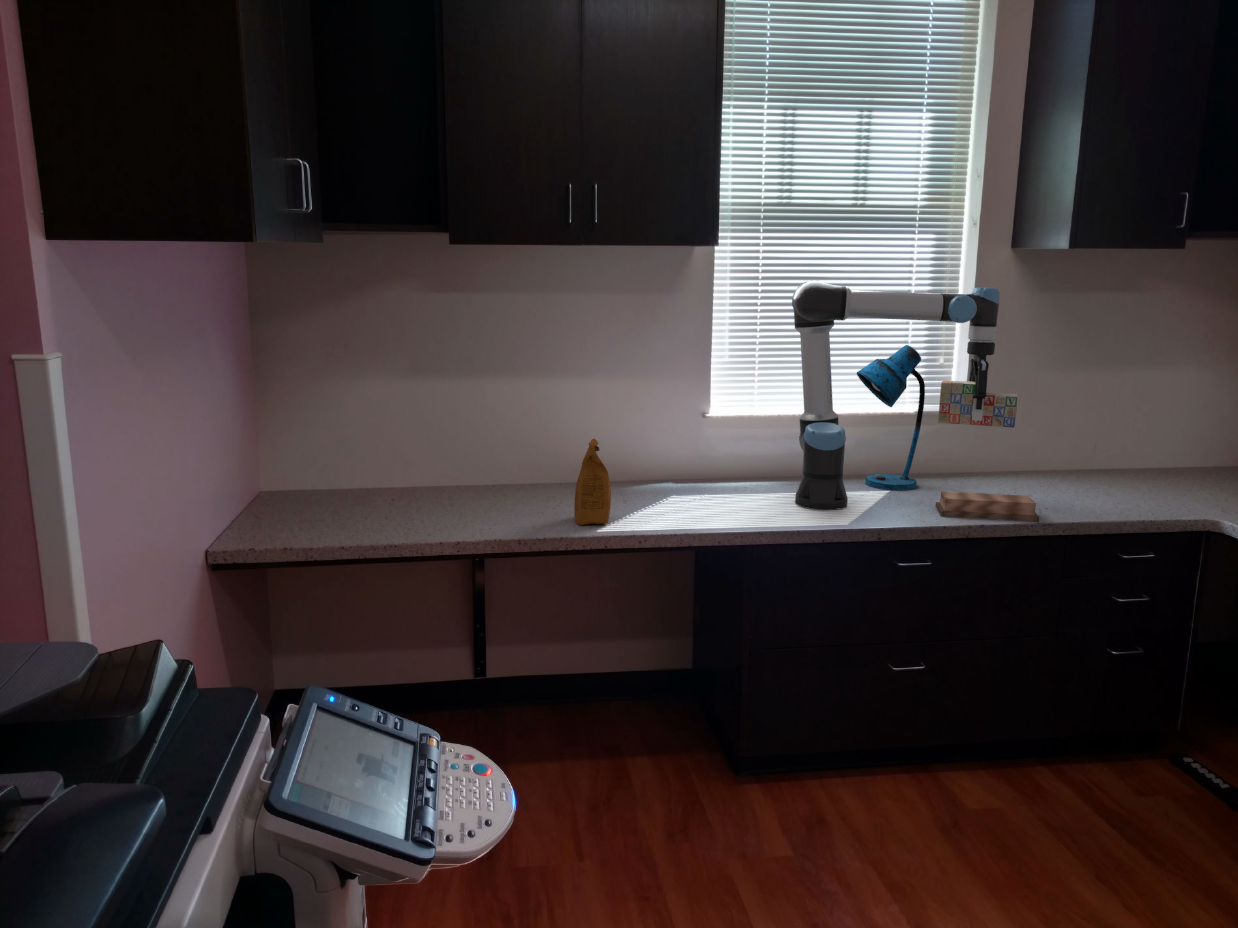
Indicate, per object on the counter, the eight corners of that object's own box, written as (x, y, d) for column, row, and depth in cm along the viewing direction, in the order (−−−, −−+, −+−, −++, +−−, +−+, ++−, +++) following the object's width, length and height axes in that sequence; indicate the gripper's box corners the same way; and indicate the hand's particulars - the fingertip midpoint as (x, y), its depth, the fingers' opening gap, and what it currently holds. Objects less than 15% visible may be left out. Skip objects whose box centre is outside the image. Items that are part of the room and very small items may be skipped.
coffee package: (610, 514, 261) (611, 437, 256) (610, 526, 248) (611, 445, 244) (575, 514, 260) (575, 437, 256) (573, 526, 248) (573, 445, 244)
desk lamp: (843, 479, 309) (852, 342, 300) (908, 479, 310) (919, 343, 301) (858, 490, 293) (868, 346, 284) (927, 490, 294) (938, 347, 285)
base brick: (941, 516, 263) (942, 499, 262) (935, 506, 274) (936, 490, 273) (1038, 521, 258) (1040, 504, 257) (1029, 511, 269) (1030, 495, 268)
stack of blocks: (1015, 425, 277) (1019, 384, 274) (1014, 428, 271) (1018, 386, 269) (939, 419, 285) (942, 379, 283) (937, 422, 280) (940, 381, 277)
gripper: (1002, 343, 263) (994, 424, 268) (988, 339, 282) (981, 413, 287) (974, 343, 264) (967, 423, 269) (962, 338, 284) (955, 412, 288)
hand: (974, 418), depth 278 cm, fingers closed on stack of blocks, 7 cm apart
